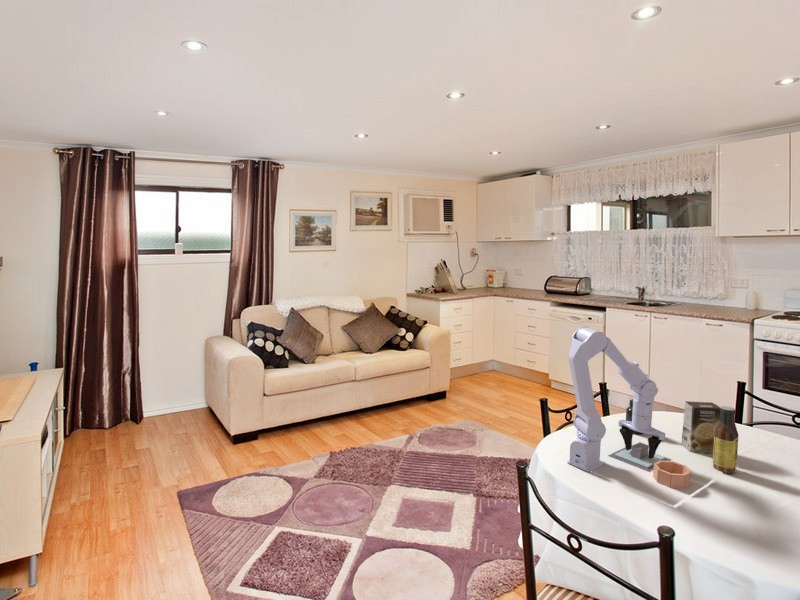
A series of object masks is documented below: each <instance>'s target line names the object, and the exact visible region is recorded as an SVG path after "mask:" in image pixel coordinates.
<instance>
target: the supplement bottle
mask: <svg viewBox="0 0 800 600" xmlns="http://www.w3.org/2000/svg"><path fill="white" fill-rule="evenodd" d="M628 404H629V405H628V406H627V407H626V409H625V410H626V411H625V420H626V421H631V422H632V412H633V398H632V399H630V400H629V403H628ZM633 435H637V436H639V435H641V436H643V435H645V434H644V433H641V432H637V431H634V432H633Z"/></svg>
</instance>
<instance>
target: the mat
mask: <svg viewBox="0 0 800 600" xmlns="http://www.w3.org/2000/svg"><path fill="white" fill-rule="evenodd" d="M625 449H626V447H623V448H621V449H618V450H617V451H614V452H613V453H609V454H608V455H607V457H609V458H613V459H615V460H617V461H619V462H622V463H625V464H628V465H630V466H633V467H635V468H638V469H641V470H643V471H646V472H649V473H650V472H653V469H654V465H653V466H651V467H649V468H648V469H647V468H644V467H642V466H639V465H636V464H634V463H631V462H628V461H626V460H623V459H621V458H618V457H615V456H614V455H615V454H616V453H618V452H621V451H623V450H625ZM648 452H649V450H648ZM656 454H657V455H659V454H658V453H656ZM661 456H662V457H665V459H664V460H662V461H673V459H672V458H668V457H666V456H663V455H661Z"/></svg>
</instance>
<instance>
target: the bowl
mask: <svg viewBox="0 0 800 600" xmlns="http://www.w3.org/2000/svg"><path fill="white" fill-rule="evenodd" d="M691 472H692V471H691V470H690V468H688V466H687V465H684V464H682V463H679V462H676V461H673V460H670V461H662V460H660V461H658V462H656V463H654V469H653V470H652V477H653V478H654V480H655V481H656V483H658V484H660V485H663V486H665V487H667V488H671V489H672V488H673V489H685V488H687V487H689V486H690V485H691V476H692V475H691V474H692V473H691Z"/></svg>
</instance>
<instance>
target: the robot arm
mask: <svg viewBox="0 0 800 600" xmlns="http://www.w3.org/2000/svg"><path fill="white" fill-rule="evenodd" d="M571 339H572V340H571V341H572V342H571V345H570V348H569V349H570V350H569V352H568V362H569V369H570V374H571V380H572V386H573V389H574V390H573V391H574V396H575V400H576V401H575V402H576V406H577V408H576V409H575V410H574V411H573V412H574V417H573V426H574V427H575V428H576V437H575V439H574V440H573V441H572V442H571V443H570V445H569V460H567V461H566V463H567V464H569V465H571V466H574V467H577V468H578V469H581V470H583V471H585V472H589V473H590V472H591V471H592V470H595V469H596V468H598V467H600V466H602V465H604V464H606V462H605V461H603V460H602V459H601V443H602V439H603V438H604V437H605V435H606V433H607V428H606V426H605V424H604V423H603V421H602V417H601V416H600V414H599V412H598V410H597V408H596V402H595V398H594V391H593V386H592V380H591V374H590V369H589V364H588V363H589V360H590V359H592V358H594V357H595V356H597V355H598V354H599V353H601V352H602V353H604V354H605V355H606V356H607V357H608V358H609V359H610V360H611V361H612V362H613V363H614V364H615V365H616V366H617V367H618V368H617V371H618V374H619V375H620V376H621V377H622V378H623V379H624V380H625V381H626V382H627V384H628V385H629V388H630V390H632V391H633V396H632V397H633V398H632V399H633V412H632V422H631V421H626V419H620V420H618V427H620V429H619V432H620V434H621V436H622V438H623V439H622V440H623V442H624V446H625V447H626V450H630V449H631V447H632V446H633V444H632V443H633V435H634V434H633V432H634V431H637V432H641V433H644V434H643V435H647V436H650V437H648V438H647V445H649V448H648V451H649V454H648V457H649V458H650V459H652V458H654V455H655V454H656V452H657V450H658V447H660V444H661V443H662V441H664V440H665V439H666V433H665V432H662V431H660V430H659V429H656V428H654V427H653V426H652V423H653V421H652V420H653V404H654V401H655V397H656V395H657V394H658V393H659V388H658V387H657V384H656V382H655V381H653V380H652V379H650V378H649V377H648V376H649V375H648V374H647V373H646V372H644V371H643V370H642V369H641V368H640V364H639V363H638V362H636V361H633V360H627V358H626V356H624V355H623V353H622V352H621V351H620V350H619V348H618V347H617V346H616V344H615V343H614V342H613V341H612V339H611V338H609V337H608V336H607V335H606V334H605V333H604V332H602V331H600V330H599V331H598V330H595V329H592V328H591V327H588V326H586V325H585V326H584V325H583V326H581V327H578V328H577V329H576V330H575V331H574V333H573V334H572V335H571ZM625 447H624V448H625Z"/></svg>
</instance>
